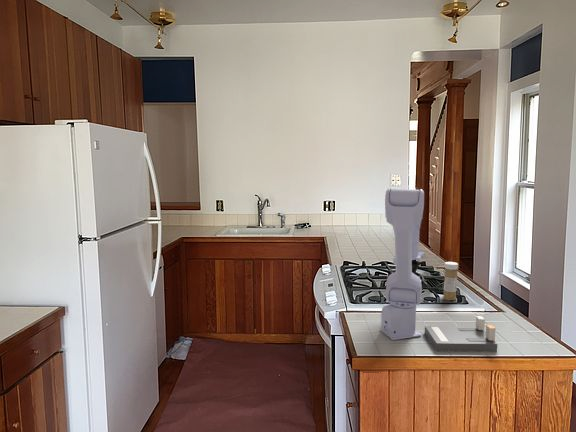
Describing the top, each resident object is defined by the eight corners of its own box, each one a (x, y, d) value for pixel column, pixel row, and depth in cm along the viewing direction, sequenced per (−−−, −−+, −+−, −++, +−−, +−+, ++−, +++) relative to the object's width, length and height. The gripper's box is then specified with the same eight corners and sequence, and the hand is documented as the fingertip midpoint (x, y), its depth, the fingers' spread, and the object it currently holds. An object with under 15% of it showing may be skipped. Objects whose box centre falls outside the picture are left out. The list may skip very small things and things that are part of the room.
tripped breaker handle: (489, 340, 120) (489, 328, 119) (485, 336, 122) (486, 324, 121) (494, 340, 119) (495, 328, 119) (491, 336, 122) (491, 324, 121)
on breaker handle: (478, 329, 126) (479, 319, 126) (475, 326, 129) (476, 316, 128) (484, 330, 126) (484, 319, 126) (480, 326, 129) (481, 316, 128)
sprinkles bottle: (446, 296, 164) (447, 260, 162) (458, 298, 161) (460, 262, 159) (440, 299, 161) (442, 263, 159) (453, 302, 157) (455, 265, 156)
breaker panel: (436, 351, 119) (436, 343, 119) (424, 332, 131) (424, 325, 131) (496, 351, 119) (497, 343, 118) (479, 333, 130) (479, 325, 130)
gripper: (407, 247, 136) (405, 290, 138) (433, 240, 145) (431, 281, 147) (388, 243, 141) (387, 285, 143) (414, 237, 151) (413, 276, 153)
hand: (408, 282), depth 146 cm, fingers closed
